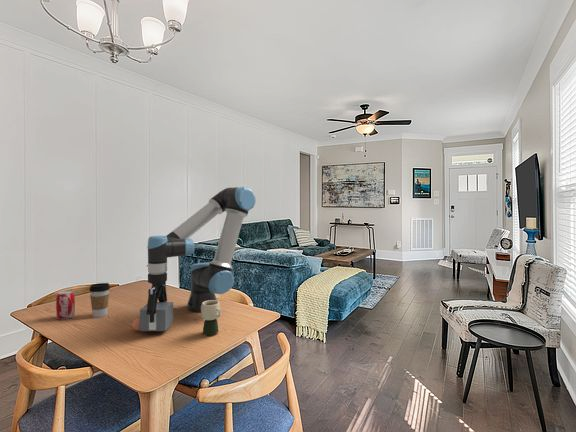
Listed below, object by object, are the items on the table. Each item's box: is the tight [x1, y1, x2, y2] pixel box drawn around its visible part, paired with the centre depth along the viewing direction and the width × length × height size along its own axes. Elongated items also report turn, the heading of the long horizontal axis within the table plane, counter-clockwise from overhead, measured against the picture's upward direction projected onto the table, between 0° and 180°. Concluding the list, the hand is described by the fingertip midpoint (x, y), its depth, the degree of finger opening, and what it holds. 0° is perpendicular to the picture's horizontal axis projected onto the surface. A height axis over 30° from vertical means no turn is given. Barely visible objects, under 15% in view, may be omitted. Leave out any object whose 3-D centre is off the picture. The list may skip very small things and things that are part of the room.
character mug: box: [201, 300, 222, 336], centre depth 129 cm, size 11×7×13 cm, turn 59°
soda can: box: [55, 290, 76, 321], centre depth 145 cm, size 7×7×12 cm
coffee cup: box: [88, 282, 111, 318], centre depth 148 cm, size 8×8×15 cm
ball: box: [131, 317, 140, 331], centre depth 132 cm, size 5×5×5 cm
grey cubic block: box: [139, 301, 174, 332], centre depth 132 cm, size 10×10×9 cm
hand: (157, 324), depth 132 cm, fingers closed on grey cubic block, 10 cm apart
